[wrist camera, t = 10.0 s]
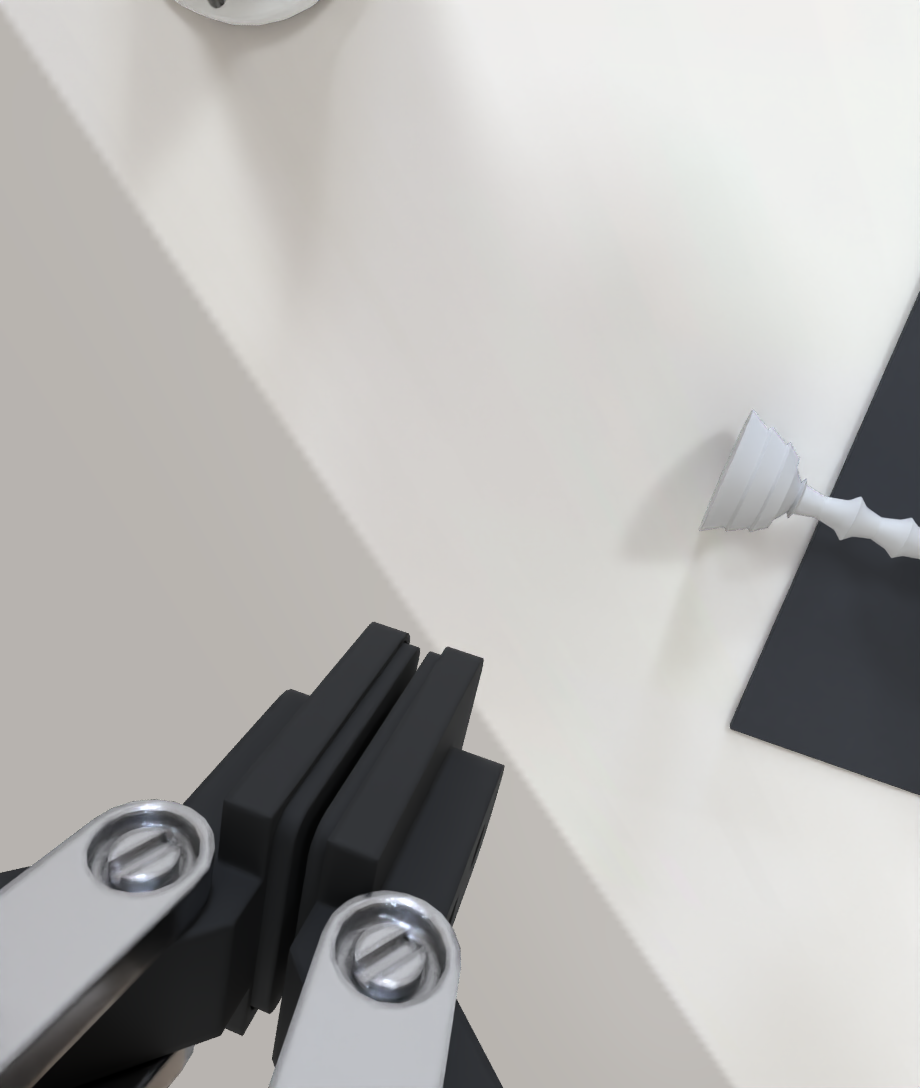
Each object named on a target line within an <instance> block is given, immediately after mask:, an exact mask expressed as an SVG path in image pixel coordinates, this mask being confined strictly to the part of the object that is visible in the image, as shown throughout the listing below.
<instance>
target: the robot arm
mask: <svg viewBox="0 0 920 1088" xmlns="http://www.w3.org/2000/svg"><path fill="white" fill-rule="evenodd" d="M175 1H176V2H178V3H179V4H180V5H182V6H183V7H185V8H187V9H190V10H192V11H194V12H196V13H198V14H201V15H203V16H205V17H207V18H211V19H214V20H218V21H221V22H225V23H229V24H232V25H264V24H268V23H273V22H277V21H281V20H286V19H288V18H290V17H292V16H294V15H296V14H298V13H300V12H302V11H304V10H306V9H308V8H310V7H312V6H313V5H314V4H315V3H317V2H318V1H319V0H225V3H224V0H175ZM409 643H410V635H409V633H406V632H403V631H400V630H397V629H394V628H391V627H388V626H385V625H382V624H379V623H376V622H372V623H371V624H370V625H369V626H368V627H367V628H366V629H365V631H364V632H363V633H362V634H361V635H360V637H359V638H358V639H357V640H356V642H355V643H354V644H353V645H352V646H351V647H350V649H349V650H348V651H347V652H346V653H345V655H344V656H343V657H342V658H341V659H340V661H339V662H338V663H337V664H336V665H335V667H334V668H333V669H332V670H331V671H330V673H329V674H328V675H327V676H326V677H325V678H324V680H323V681H322V682H321V683H320V685H319V686H318V687H317V688H316V689H315V691H314V692H313V693H312V694H311V695H310V696H309V695H306V694H304V693H301V692H298V691H295V690H292V689H290V690H286V691H285V692H284V693H283V694H282V695H281V696H280V697H279V698H278V699H277V700H276V701H275V702H274V703H273V704H272V705H271V707H270V708H269V709H268V710H267V711H266V712H265V713H264V715H262V717H261V718H260V719H259V720H258V721H257V722H256V723H255V724H254V726H253V727H252V728H251V729H250V730H249V731H248V732H247V733H246V734H245V735H244V737H243V738H242V739H241V740H240V741H239V742H238V743H237V745H236V746H235V747H234V748H233V749H232V750H231V751H230V752H229V753H228V755H227V756H226V757H225V758H224V759H223V760H222V761H221V762H220V763H219V765H218V766H217V767H216V768H215V769H214V770H213V771H212V772H211V774H210V775H209V776H208V777H207V778H206V779H205V780H204V781H203V782H202V784H201V785H200V786H199V787H198V788H197V789H196V790H195V791H194V792H193V794H192V795H191V796H190V797H189V798H188V799H187V800H186V801H185V802H184V803H183V805H182V804H180V803H177V802H174V801H166V800H158V799H151V800H140V801H132V802H129V803H126V804H123V805H120V806H117V807H113V808H111V809H109V810H108V811H106V812H104V813H103V814H101V815H99V816H97V817H96V818H94V819H93V820H91V821H90V822H89V823H87V824H86V825H85V826H83V827H82V828H81V829H79V830H78V831H77V832H76V833H74V834H73V835H72V836H70V837H69V838H68V839H66V840H65V841H64V842H62V843H61V844H60V845H58V846H57V847H56V848H54V849H53V850H52V851H50V852H49V853H48V854H46V855H45V856H44V857H43V858H41V859H40V860H38V861H37V862H36V863H34V864H33V865H32V866H30V867H25V868H20V869H16V870H11V871H7V872H2V873H0V1088H168V1087H169V1086H170V1085H171V1083H172V1082H173V1081H174V1080H175V1078H176V1077H177V1076H178V1075H179V1074H180V1072H181V1071H182V1070H183V1068H184V1066H185V1065H186V1063H187V1061H188V1060H189V1058H190V1056H191V1055H192V1053H193V1050H194V1046H195V1044H198V1043H201V1042H204V1041H207V1040H209V1039H212V1038H215V1037H218V1036H220V1035H221V1034H222V1032H223V1031H224V1029H225V1028H226V1029H228V1030H230V1031H233V1032H235V1033H237V1034H239V1035H242V1036H243V1035H244V1033H245V1031H246V1029H247V1028H248V1026H249V1024H250V1022H251V1021H252V1019H253V1017H254V1015H255V1014H256V1012H257V1010H258V1009H260V1010H262V1011H264V1012H266V1013H269V1014H270V1013H271V1012H273V1010H274V1009H275V1008H276V1006H277V1004H278V1003H279V1001H280V999H281V997H282V1001H281V1006H280V1013H279V1019H278V1025H277V1031H276V1038H275V1044H274V1050H273V1057H272V1060H273V1063H274V1066H275V1070H274V1072H273V1075H272V1078H271V1081H270V1084H269V1087H268V1088H503V1087H502V1085H501V1083H500V1081H499V1079H498V1077H497V1075H496V1073H495V1072H494V1070H493V1068H492V1066H491V1064H490V1062H489V1060H488V1058H487V1056H486V1054H485V1053H484V1051H483V1049H482V1047H481V1045H480V1043H479V1041H478V1039H477V1037H476V1035H475V1033H474V1032H473V1030H472V1028H471V1026H470V1024H469V1022H468V1020H467V1018H466V1016H465V1014H464V1012H463V1011H462V1009H461V1007H460V1005H459V1003H458V1001H457V999H456V997H457V990H458V983H459V977H460V970H461V957H460V956H461V955H460V946H459V943H458V940H457V938H456V935H455V932H454V930H453V928H452V926H453V923H454V921H455V918H456V915H457V912H458V909H459V907H460V904H461V901H462V899H463V896H464V893H465V890H466V888H467V885H468V882H469V879H470V877H471V874H472V871H473V868H474V865H475V863H476V860H477V857H478V854H479V851H480V848H481V845H482V842H483V839H484V836H485V833H486V829H487V826H488V823H489V820H490V817H491V813H492V810H493V806H494V803H495V800H496V796H497V793H498V789H499V786H500V782H501V778H502V775H503V771H504V765H502V764H499V763H496V762H494V761H491V760H488V759H485V758H482V757H480V756H477V755H474V754H471V753H468V752H466V751H463V750H462V746H463V742H464V738H465V735H466V730H467V727H468V723H469V719H470V715H471V711H472V707H473V703H474V699H475V695H476V691H477V687H478V684H479V680H480V676H481V672H482V667H483V661H484V660H483V658H480V657H477V656H474V655H471V654H468V653H465V652H462V651H459V650H456V649H453V648H450V647H446V648H445V650H444V651H443V653H442V654H441V655H439V654H437V653H434V652H429V653H428V654H427V656H426V657H425V659H424V660H423V662H422V663H421V665H420V666H419V668H418V670H417V665H418V661H419V655H420V648H419V647H416V646H413V645H410V644H409ZM416 670H417V671H416Z"/></svg>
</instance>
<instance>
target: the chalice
mask: <svg viewBox="0 0 920 1088" xmlns="http://www.w3.org/2000/svg"><path fill="white" fill-rule="evenodd" d="M798 464H799V456H798V454H797V452H796V451H795V449H794V447H793V446H792V444H791V442H790V443H788V444H786V443H785V441H784V440H783V439H782V438H781V436H780V435H779V434H778V433H777V431H776V430H775V429H774V427H772V428H770V429H768V428H767V426H766V425H765V424H764V423H763V421H762V420H761V419H760V417H759V416H758V415H757V414H756V412H755V411H754V410H753V409H752V411H751V412H750V414H749V416H748V418H747V420H746V422H745V424H744V426H743V428H742V430H741V432H740V435H739V437H738V439H737V441H736V443H735V445H734V448H733V450H732V452H731V454H730V456H729V459H728V461H727V463H726V465H725V468H724V470H723V472H722V474H721V477H720V479H719V481H718V484H717V486H716V488H715V491H714V493H713V495H712V498H711V500H710V502H709V505H708V507H707V510H706V512H705V515H704V517H703V520H702V523H701V525H700V528H699V531H702V530H710V529H717V528H725V531H734V530H741V529H748V530H749V532H753V531H757V530H761V529H765V528H768V527H769V526H770V524H771V523H772V521H773V520H774V519H776V518H778V517H780V516H781V515H783V514H785V513H786V512H787V517H788V518H789V517H790V516H791V515H792V514H797V515H803V516H808V517H814V518H816V519H818V520H820V521H821V522H823V523H824V524H826V525H828V526H829V527H831V528H832V529H834V530H835V532H836V534H837V536H838V538H839V540H843V539H846V538H849V537H860V538H868V539H871V540H873V541H874V542H876V543H877V544H878V545H880V546H881V547H883V548H884V549H885V550H886V551H887V553H888V554H889V556H890V557H891V558H894V557H900V556H906V557H911V558H916V559H920V527H918V526H917V524H916V523H915V521H914V520H913V519H912V518H907V519H902V520H898V519H890V518H881V517H880V516H879V515H877V514H876V513H874V512H873V511H871V510H870V509H869V508H867V507H866V505H865V503H864V501H863V499H862V497H858V498H855V499H852V500H843V499H837V498H831V497H825V496H824V495H822V494H821V493H819V492H817V491H816V490H814V489H813V488H811V487H809V486H808V485H807V479H805V480H803V481H802V482H801V480H800V476H799V472H798V468H797V467H798Z"/></svg>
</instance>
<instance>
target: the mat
mask: <svg viewBox="0 0 920 1088" xmlns="http://www.w3.org/2000/svg"><path fill="white" fill-rule="evenodd" d="M830 497H831V498H837V499H843V500H852V499H855V498H858V497H862V499H863V501H864V503H865V505H866V507H867V508H869V509H870V510H871V511H873V512H874V513H876V514H877V515H879V516H880V517H881V518H890V519H898V520H902V519H907V518H912V519H913V520H914V521H915V523H916V524H917V526H918V527H920V292H919V294H918V297H917V299H916V301H915V303H914V306H913V308H912V310H911V312H910V315H909V317H908V319H907V322H906V324H905V326H904V328H903V331H902V333H901V335H900V338H899V340H898V342H897V344H896V347H895V349H894V351H893V354H892V356H891V358H890V360H889V363H888V365H887V367H886V370H885V372H884V374H883V376H882V379H881V381H880V383H879V386H878V388H877V390H876V392H875V395H874V397H873V399H872V401H871V404H870V406H869V408H868V411H867V413H866V415H865V417H864V420H863V422H862V424H861V427H860V429H859V431H858V433H857V436H856V438H855V440H854V443H853V445H852V447H851V449H850V452H849V454H848V456H847V459H846V461H845V463H844V465H843V468H842V470H841V472H840V475H839V477H838V479H837V481H836V484H835V486H834V488H833V490H832V493H831V495H830ZM730 729H732V730H735V731H738V732H741V733H743V734H746V735H749V736H752V737H755V738H758V739H761V740H763V741H766V742H769V743H772V744H775V745H778V746H781V747H783V748H786V749H789V750H792V751H795V752H798V753H801V754H804V755H806V756H809V757H812V758H815V759H818V760H821V761H824V762H826V763H829V764H832V765H835V766H838V767H841V768H844V769H846V770H849V771H852V772H855V773H858V774H861V775H864V776H866V777H869V778H872V779H875V780H878V781H881V782H884V783H886V784H889V785H892V786H895V787H898V788H901V789H904V790H906V791H909V792H912V793H915V794H918V795H920V559H916V558H911V557H906V556H900V557H894V558H891V557H890V556H889V554H888V553H887V551H886V550H885V549H884V548H883V547H881V546H880V545H878V544H877V543H876V542H874V541H873V540H871V539H868V538H860V537H849V538H846V539H843V540H839V538H838V536H837V534H836V532H835V530H834V529H832V528H831V527H829V526H828V525H826V524H824V523H823V522H821V521H820V520H819V522H818V525H817V527H816V529H815V532H814V534H813V536H812V538H811V541H810V543H809V545H808V548H807V550H806V552H805V554H804V557H803V559H802V561H801V564H800V566H799V568H798V570H797V573H796V575H795V577H794V579H793V582H792V584H791V586H790V589H789V591H788V593H787V595H786V598H785V600H784V602H783V605H782V607H781V609H780V611H779V614H778V616H777V618H776V621H775V623H774V625H773V627H772V630H771V632H770V634H769V637H768V639H767V641H766V643H765V646H764V648H763V650H762V653H761V655H760V657H759V659H758V662H757V664H756V666H755V668H754V671H753V673H752V675H751V678H750V680H749V682H748V684H747V687H746V689H745V691H744V694H743V696H742V698H741V700H740V703H739V705H738V707H737V710H736V712H735V714H734V716H733V719H732V721H731V723H730Z"/></svg>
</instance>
